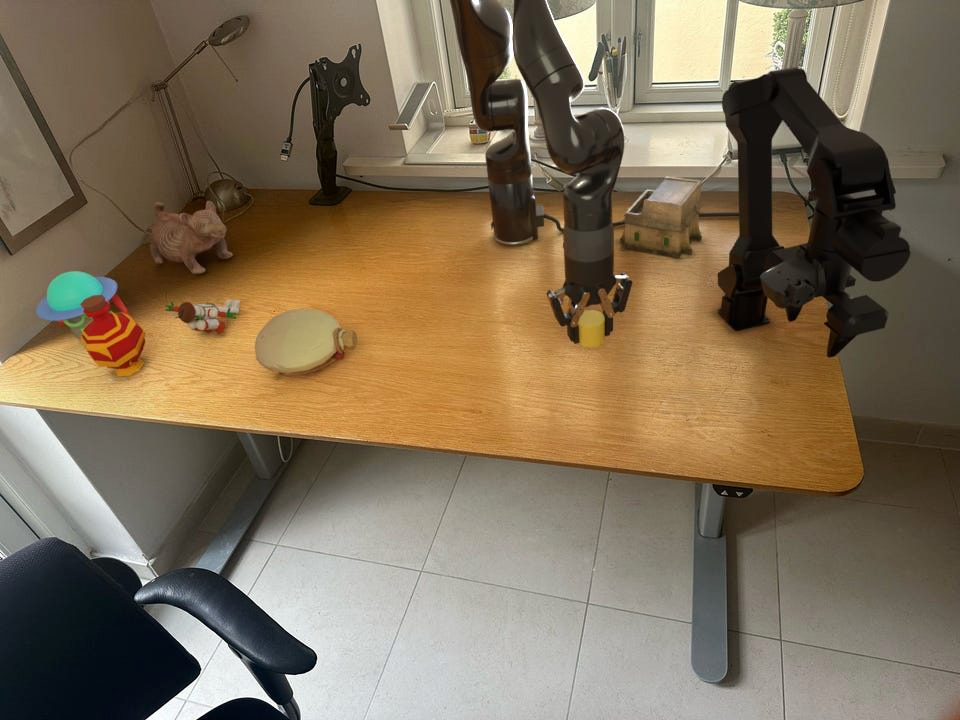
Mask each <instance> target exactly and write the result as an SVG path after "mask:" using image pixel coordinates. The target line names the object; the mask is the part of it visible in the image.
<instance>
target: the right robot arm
mask: <svg viewBox="0 0 960 720" xmlns="http://www.w3.org/2000/svg"><path fill="white" fill-rule="evenodd" d="M721 108H722V112H723V114H724V120H725V127H726V128H727V130H728V131H729V133H730V134H731V136H732V137H733V138H734V140H735V142H736V144H737V179H738V182H737V183H738V213H739V216H738V223H739V224H738V225H739V226H738V227H739V229H738V230H739V231H738V232H739V234H738V237H737V239H736V241H735V242H734V244H733V246H732V247H731V249H730V251H729V255H728V266H726V267H725V268H723V269H721V270H720V271H719V272H717V274H716V275H717V276H716V277H717V286H718V287H719V288H720V290H721V291H722V292H723V293H724V295H722V296H721V304H720V308H718V309H717V311H716V312H717V314H718V315H719V316H720V317H721V318H722V319H723V320H724V322H726V324H728V325H729V327H730V328H732V330H733V331H735V332H740V331H744V330H748V329H751V328H756V327H760V326H764V325H768V324H770V322H771V320H770V318H769V317H768V316H766V311H767V304H768V299H769V301H771V302H772V303H773V304H774V305H775V306H776V308H779V309H785V312H786V318H787V321H788V322H789V323H790V322H794V321H795V322H796V320H797V319H798V317H799V315H800V313H801V311H802V309H803V307H804V305H806V304H808V303H810V302H812V301H814V299H815V298H816V299H817V298H819V297H823V298H824V299H825V300H826V301H827V302H828V303H830V305H831V306H830V307H829V308H828V309H827V313H826V316H825V317H826V321H824V322H823V325H824V326H825V327H826V328H827V329H829V336H828V342H827V348H826V356H827V358H834V357H836V356H837V355H838V354H839V353H840V352H842V351H843V349H845V348H846V346H848V345H849V344H850V343H851V341H853V340H854V339H855V338H856V337H857V336H859V335H862V334H867V333H870V332H874V331H878V330H882V329H885V328H886V324H887V321H888V318H889V314H890V312H889V311H888V310H887V309H886V308H885V307H883V306H882V305H880V304H879V303H878V302H876V301H875V300H874V298H871V297H870V296H869V295H868V294H864V295H860V296H856V297H853V296H852V295H850V294H849V293H848V292H847V291H845V290H846V288H851V287H855V285H856V281H857V278H855V277H854V276H852V275H851V271H852V268H853V270H855V271H857V272H858V273H859V274H860V275H861V276H862V277H863V278H864V279H866V280H867V281H870V282H876V283H877V282H882V281H886V280H889V279H891V278H892V277H894V276H896V274H898V273H899V272H901V271H902V269H903V268H904V267H905V266H906V264H907V263H908V262H909V259H910V257H911V249H910V244H909V242H908V240H907V239H905V238H904V237H903V236H901V235H900V234H901V231H902V227H901V226H900V225H899V224H897V222H894V221H891V220H889V219H888V218H887V217H886V216H884V215H883V212H885V211H891V210H895V209H896V206H897V204H896V198H895V194H896V193H897V191H896V188H895V184H894V181H893V178H892V174H891V170H890V169H891V168H890V162H889V158H888V156H887V154H886V151H885V149H884V148H883V146H882V145H880V144H879V142H877V141H876V140H874V139H873V138H872V137H871V136H869V134H866V133H865V132H862V131H859V130H855V129H852V128H849V127H847V126H846V125H845V124H844V123H842V121H841V120H840V119H839V118H838V116H837V115H836V114H835V113H834V111H833V110H832V109H831V108H830V107H829V105H828V104H827V103H826V102H825V100H824V99H823V98H822V97H821V95H820V94H819V93H818V92H817V91H816V89H814V87H813V86H812V85H811V84H810V82H809V81H808V76H807V73H806V71H805V69H804V68H801V67H800V68H799V67H797V66H793V67H787V68H782V69H775V70H769V71H768V72H767V73H764V74H762V75H760V76H758V77H755V78H750V79H743V80H737V81H733V82H731V84H729V86H728V89H727V90H726V91H724V93H723V95H722V98H721ZM782 122H784V123H785V125H786V127H787V128H788V130H789V131H790V133H792V135H793V137H794V138H795V139H796V140H797V142H798V143H799V145H800V146H801V148H803V150H804V151H805V153H806V155H807V157H808V160H807V166H806V174H807V175H808V177H809V179H810V181H811V184H812V186H813V189H811V190H809V191H808V193H807V194H808V197H809V198H810V199H812V200H813V201H814V202H815V205H814V210H813V214H812V220H811V224H810V231H809V235H808V240H807V242H805V243H800V244H797V245H793V246H789V247H785V246H784V245H780V243H779V242H778V240H777V239H776V238H775V236H774V235H773V233H774V232H773V138H774V136H775V134H776V133H777V132H778V129H779V128H780V126H781V124H782ZM869 191H874V193H875V194H873V195H867V196H861V197H855V196H853V194H859V193H864V192H869Z"/></svg>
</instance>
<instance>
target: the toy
mask: <svg viewBox="0 0 960 720" xmlns="http://www.w3.org/2000/svg"><path fill="white" fill-rule="evenodd" d="M240 305H241V301H240V300H238V299H231V298H228V299H226V300H225V304H224V306H219V305H216V303H214V302H209V301H208V302H207V301H206V303H198V304H197V303H196V304H195V303H194V304H192V302H190V301H185V302H182V303H181V304H180V305H179V306H177V305H176V306H175V304H174V302H173V301H170V305H169V304H166V305H165V307H166V308H165V309H164V311H166V312H174V313H172V314H171V315H169V317H171V318H172V317H174V318H175V319H179V320H180V321H181V322H182V323H185V324H186V325H187V327H188V328H189V329H190V330H192V331H195V332H204V333H208V334H209V333H211V332H212V331H215V332H216V334H217V335H218V334H223V333H224V331H225V329H226V327H227V326H226V325H227V324H226V322H225V321H219V320H218V319H220V318H223V319H224V318H225V319H233V320H236V319H237V317H236V315H238V314H240ZM216 318H217V319H216Z"/></svg>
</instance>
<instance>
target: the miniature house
mask: <svg viewBox="0 0 960 720" xmlns="http://www.w3.org/2000/svg"><path fill="white" fill-rule="evenodd" d="M702 183H703V181H702V180H699V179H698V180H697V179H690V178H683V177H676V176H675V177H674V176H667V175H666V176H665V177H664V178H663V181H662V182H661V183H660V185H659V186H658V187H657V188H656V189H646V190H644V191H643V193H642V194H641V195H639V196H638V197H637V199H636V200H635V202H634V203H632V205H630V207H628V208H626V211H625V213H624V215H623V217H624V219H623V220H621V221H622V223H625V224H624V229H623V232H622V235H621V237H620V238H619V242H620V243H623V249H625V250H630V251H636V252H641V253H646V254H651V255H657V256H662V257H667V258H673V259H676V260H677V259H680V258H681V257H682V255H689V256H691V255H692V254H693V249H692V247H691V243H692V242H693V241H695V242H702V239H703V236H702V234H701V231H700V224H699V218H700V217H699V213H701V208H702V207H703V205H704V204H703V203H701V193H702V192H701V191H702Z"/></svg>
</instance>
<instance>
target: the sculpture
mask: <svg viewBox="0 0 960 720" xmlns="http://www.w3.org/2000/svg"><path fill="white" fill-rule="evenodd" d="M153 207H154V208H153V210H154V213H155V215H156V221H155V222H154V224H153V226H152V228H151V233H150V235H151V236H150V239H151V240H150V245H149V250H150V254H151V256H152V258H153V260H154V262H155V263H156V264H158V265H159V264H165V262H166V260H168V261H170V262H174V263H182V264H183V263H184V265H185V266H186V268H187V269H188V270H189V271H190V272H191V274H193V275H200V274H203V273H205V272H206V268H205V267H204V266H202V265H200V264H199V262H198V261H197V259H196V257H198V256H199V255H201V254H202V253H204V252H205V251H208V250H210V249H211V248H212V247H213V248H214V250H215V252H216V255H217V257H219V258H220V259H221V260H228V259H230V258H231V257H233V256H234V253H232V252H231V251H229V250H228V244H227V241H226V239H225V237H226V232H227V229H228V228H227V226H226V225H225V224H224V223H223V222H222V220H221V218H220V216H219V215H218V213H217V208H216V205H215V204H214V202H212V201H211V200H207V201H206V203H205V209H200V210H196V211H195V212H194V213H193V214H188V213H186V212H181V213H180V214H179V213H172V212H167V211H166V210H165V204H164V203H163V202H160V201H156V202H155V203H154V205H153Z"/></svg>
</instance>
